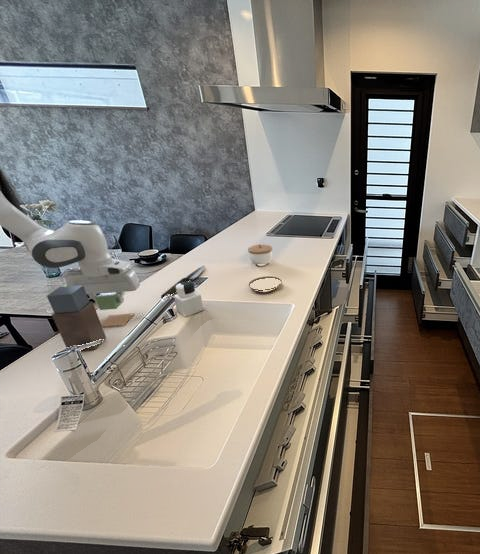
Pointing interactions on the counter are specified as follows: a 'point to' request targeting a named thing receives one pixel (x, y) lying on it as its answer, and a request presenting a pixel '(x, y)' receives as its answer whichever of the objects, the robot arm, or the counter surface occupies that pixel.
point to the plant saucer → (264, 278)
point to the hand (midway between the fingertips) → (110, 302)
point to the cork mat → (116, 320)
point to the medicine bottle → (188, 299)
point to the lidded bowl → (260, 254)
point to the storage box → (80, 327)
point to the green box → (108, 301)
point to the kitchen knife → (191, 276)
